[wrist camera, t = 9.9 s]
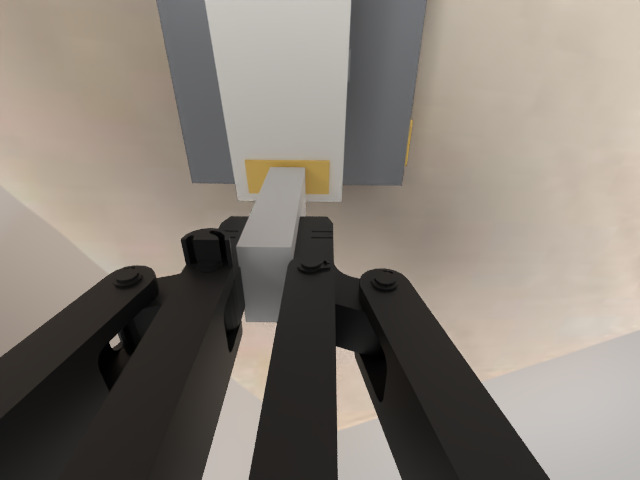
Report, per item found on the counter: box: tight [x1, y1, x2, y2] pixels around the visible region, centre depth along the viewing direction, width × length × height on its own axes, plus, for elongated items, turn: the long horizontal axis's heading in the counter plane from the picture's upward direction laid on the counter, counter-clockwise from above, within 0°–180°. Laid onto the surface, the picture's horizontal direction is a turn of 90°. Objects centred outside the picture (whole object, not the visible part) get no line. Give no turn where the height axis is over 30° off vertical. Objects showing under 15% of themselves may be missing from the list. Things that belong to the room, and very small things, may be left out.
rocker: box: [205, 0, 351, 202], centre depth 14 cm, size 11×5×2 cm, turn 0°
